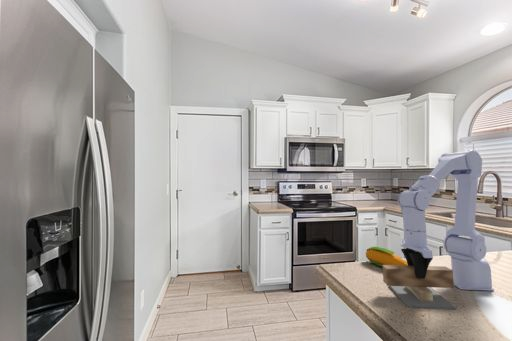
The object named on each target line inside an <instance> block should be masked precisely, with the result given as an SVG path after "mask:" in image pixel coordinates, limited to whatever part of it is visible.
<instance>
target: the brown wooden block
mask: <svg viewBox="0 0 512 341" xmlns="http://www.w3.org/2000/svg"><path fill="white" fill-rule="evenodd" d="M382 280H383V282H384V284H385V285H386V286H388V287H389V286H409V287H431V288H440V289H441V288H442V289H444V288H446V289H454V288H455V285H454V281H453V270H452V268H450V267H447V266H440V265H437V266H436V265H434V266H433V265H429V266H428V269H427V273H426V277H425V279H419V278H417V277H416V275H415V270H414V266H405V265H383V267H382Z"/></svg>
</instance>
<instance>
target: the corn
mask: <svg viewBox="0 0 512 341" xmlns="http://www.w3.org/2000/svg"><path fill="white" fill-rule="evenodd" d="M365 257H366V259H367V260H368V261H369V262H370V263H373V264H374V265H376V266H378V267H381V268H383V265H405V266H408V264H407V261H406V259H405V260H404V259H403V258H401V257H399V256H397V255H396V254H395V252H394V251H392V250H391V249H388V248H383V247H379V246H371V247H369V248H367V249H366V251H365Z"/></svg>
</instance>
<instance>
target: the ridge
mask: <svg viewBox="0 0 512 341" xmlns="http://www.w3.org/2000/svg"><path fill="white" fill-rule="evenodd" d="M406 287H407V288H408V289H409V290H410V291H411V292H412V293H413V294H414V295H415V296H416V297H417V298H418V299H420V300H421V301H427V302H433V293H432V291H431V290H429V289H428V288H427V287H409V286H406Z"/></svg>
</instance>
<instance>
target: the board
mask: <svg viewBox="0 0 512 341" xmlns="http://www.w3.org/2000/svg"><path fill="white" fill-rule="evenodd" d="M388 287H389V289H391V290H392V291H393V293H394V294H395V295H396V296H397V297H398V298H399V299H400V301H402V303H404V305H405V306H406V307H407V308H422V309H423V308H424V309H425V308H426V309H443V310H444V309H445V310H446V309H447V310H448V309H450V310H456V309H457V308H456V305H455V304H454V303H452V302H451V301H450V300H448V299H447V298H446V297H444V296H443V295H442V294H440V293H439V292H438V291H436V290H435V289H434V288H433V287H427V288H428V289H429V290H431V291H432V293H433V302H427V301H421V300H420V299H418V298H417V297H416V296H415V295H414V294H413V293H412V292H411V291H410V290H409V289H408V288H407V287H406V286H388Z"/></svg>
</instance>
